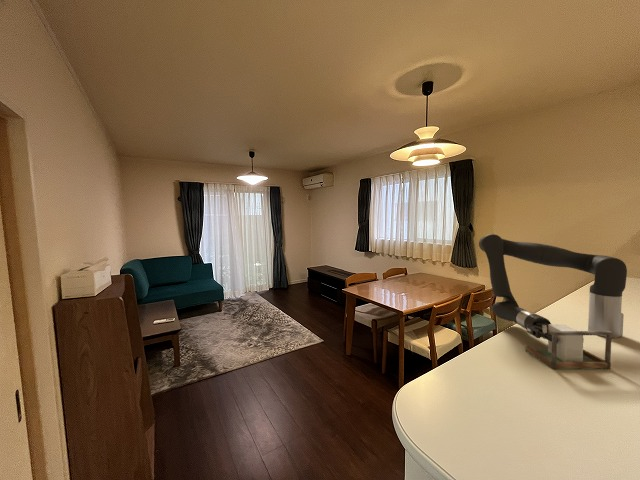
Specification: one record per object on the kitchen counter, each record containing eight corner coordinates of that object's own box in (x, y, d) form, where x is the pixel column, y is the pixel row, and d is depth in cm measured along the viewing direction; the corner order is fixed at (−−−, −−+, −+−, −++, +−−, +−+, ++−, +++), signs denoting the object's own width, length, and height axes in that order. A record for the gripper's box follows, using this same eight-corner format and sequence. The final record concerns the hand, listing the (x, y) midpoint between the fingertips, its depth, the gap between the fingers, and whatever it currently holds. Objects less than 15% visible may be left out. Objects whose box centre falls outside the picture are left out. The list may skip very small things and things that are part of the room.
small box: (583, 363, 86) (584, 333, 85) (564, 362, 87) (565, 333, 86) (564, 352, 94) (565, 324, 93) (547, 351, 95) (548, 323, 94)
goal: (575, 351, 96) (577, 318, 95) (611, 369, 83) (612, 332, 83) (525, 351, 96) (526, 318, 96) (553, 369, 84) (554, 332, 84)
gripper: (515, 313, 104) (548, 330, 88) (551, 313, 104) (591, 330, 88) (514, 331, 105) (547, 351, 89) (550, 331, 104) (590, 351, 88)
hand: (569, 340), depth 88 cm, fingers open, 8 cm apart
